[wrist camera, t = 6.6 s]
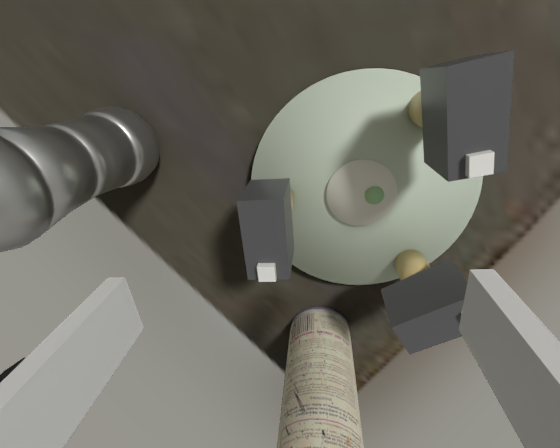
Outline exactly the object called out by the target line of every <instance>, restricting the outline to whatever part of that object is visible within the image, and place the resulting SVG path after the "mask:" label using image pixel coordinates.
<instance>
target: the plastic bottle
mask: <svg viewBox="0 0 560 448" xmlns="http://www.w3.org/2000/svg"><path fill="white" fill-rule="evenodd" d="M159 155H160V154H159V144H158V140H157V138H156V135H155V133H154V132H153V130H152V128H151V127H150V126H149V124H148V123H147V122H146V121H145V120H144V119H143V118H142V117H140V116H139V115H137V114H136V113H134V112H132V111H130V110H127V109H122V108H116V107H100V108H97V109H94V110H91V111H88V112H86V113H84V114H82V115H81V116H79V117H77V118H73V119H70V120H66V121H63V122H59V123H56V124H47V125H36V126H26V127H0V252H3V251H8V250H13V249H17V248H21V247H23V246H25V245H27V244H29V243H31V242H32V241H33V240H35V239H37V238H38V237H40V236H41V235H42V234H43V233H44V232H46V231H47V230H48V229H50V228H51V227H52V226H53V225H55V224H56V223H57V222H58V221H60V220H61V219H62V218H63V217H65V216H66V215H67V214H68V213H70V212H71V211H73V210H74V209H76V208H77V207H79V206H81V205H82V204H84V203H86V202H87V201H88V200H90V199H92V198H94V197H95V196H97V195H100V194H103V193H105V192H108V191H111V190H113V189H116V188H120V187H126V186H130V185H133V184H136V183H139V182H141V181H143V180H144V179H146V178H147V177H148V176H149V175H150V174H151V173H152V172H153V170H154V169H155V168H156V166H157V163H158V161H159Z"/></svg>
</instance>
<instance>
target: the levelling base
mask: <svg viewBox="0 0 560 448" xmlns="http://www.w3.org/2000/svg"><path fill="white" fill-rule="evenodd" d="M419 91H421V85H420V77H419V76H417V75H414V74H410V73H407V72H403V71H399V70H392V69H383V68H374V69H359V70H353V71H348V72H343V73H340V74H337V75H334V76H330V77H328V78H326V79H323V80H321V81H319V82H317V83H315V84H313V85H312V86H310V87H308V88H307V89H305V90H304V91H302V92H301V93H299V94H298V95H297V96H296V97H295V98H293V99H292V100H291V101H290V102H289V103H288V104H286V105H285V107H284V108H283V109H282V110H281V111H280V112H279V113H278V114H277V115H276V116H275V118H274V119H273V121H272V122H271V124H270V125H269V127H268V128H267V130H266V131H265V133H264V135H263V137H262V139H261V141H260V143H259V146H258V149H257V152H256V155H255V158H254V163H253V167H252V175H251V180H260V179H283V178H290V189H291V190H292V192H293V194H294V204H293V209H292V221H293V236H294V254H293V261H292V265H294V266H295V267H297V268H298V269H300V270H302V271H304V272H306V273H307V274H309V275H312V276H314V277H317V278H319V279H322V280H326V281H330V282H334V283H340V284H348V285H368V284H377V283H383V282H387V281H391V280H395V279H398V278H399V276H398V273H397V271H396V268H395V265H394V262H395V259H396V257H397V256H398V255H399V254H400V253H401V252H403V251H406V250H417V251H419V252H421V253H422V254H423V255H424V257H425V258H426V260H427V262H428V264H429V263H431V262H432V261H434V260H435V259H436V258H437V257H439V256H440V255H441V254H442V253H444V252H445V251H446V250H447V249H448V248H449V247H450V246H451V245H452V244H453V243H454V242H455V241H456V239H457V238H458V237H459V235H460V234H461V233H462V231H463V230H464V229H465V227H466V225H467V224H468V222H469V220H470V218H471V217H472V215H473V212H474V210H475V207H476V205H477V203H478V199H479V195H480V192H481V188H482V179H483V176H479V177H473V178H468V179H462V180H456V181H450V182H448V181H446V180H445V179H444V178H443V177H442V176H440V175H439V174H438V173H437V172H435V171H434V170H433V169H432V168H430V167H429V166H428V165H427V164H426V163H424V151H423V129H422V127H420V126H418V125H416V124H414V123H413V122H412V121H411V119H410V117H409V113H408V108H409V104H410V101H411V100H412V98H413V97H414V96H415V95H416V94H417V93H418V92H419Z"/></svg>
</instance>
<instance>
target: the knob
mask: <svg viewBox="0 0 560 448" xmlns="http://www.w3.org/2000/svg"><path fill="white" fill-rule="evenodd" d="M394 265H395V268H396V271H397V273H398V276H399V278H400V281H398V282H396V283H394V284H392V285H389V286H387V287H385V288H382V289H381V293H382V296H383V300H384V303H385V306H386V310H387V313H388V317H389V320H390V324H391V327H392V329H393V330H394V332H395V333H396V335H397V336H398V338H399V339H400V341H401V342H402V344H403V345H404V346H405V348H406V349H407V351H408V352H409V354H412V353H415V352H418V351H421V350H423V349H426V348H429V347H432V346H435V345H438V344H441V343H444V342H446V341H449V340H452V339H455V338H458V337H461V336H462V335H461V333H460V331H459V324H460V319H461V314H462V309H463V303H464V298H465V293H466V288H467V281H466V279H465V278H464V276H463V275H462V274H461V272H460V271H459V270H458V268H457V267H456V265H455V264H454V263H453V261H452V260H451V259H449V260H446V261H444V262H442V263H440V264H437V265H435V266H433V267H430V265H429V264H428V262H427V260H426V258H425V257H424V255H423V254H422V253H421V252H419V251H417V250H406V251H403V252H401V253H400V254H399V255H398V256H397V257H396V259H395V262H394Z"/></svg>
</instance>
